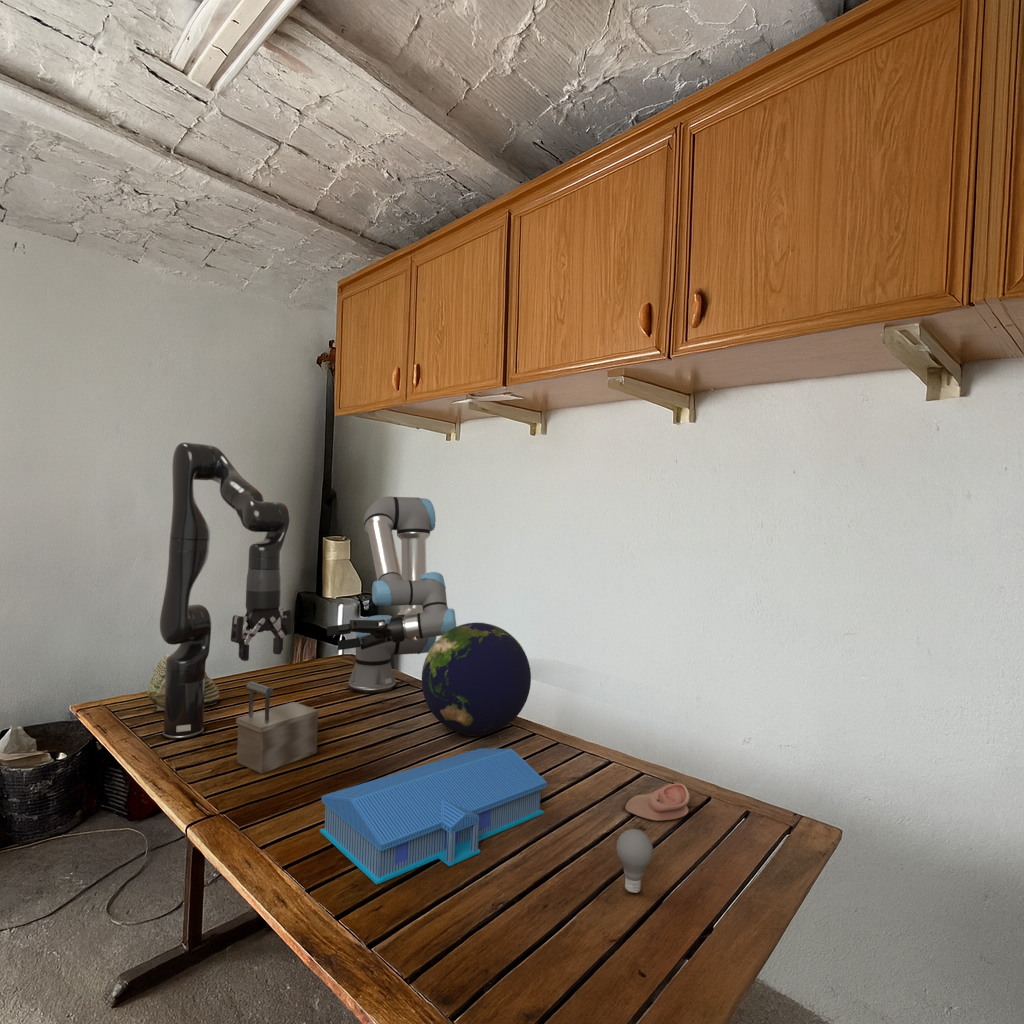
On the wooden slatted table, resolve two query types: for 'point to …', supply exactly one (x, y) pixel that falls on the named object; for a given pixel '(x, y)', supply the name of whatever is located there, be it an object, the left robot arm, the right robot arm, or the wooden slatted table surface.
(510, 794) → the model building
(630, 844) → the light bulb
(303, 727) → the chest
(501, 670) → the globe
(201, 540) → the left robot arm
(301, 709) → the grey piece
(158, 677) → the fossil
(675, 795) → the anatomical model
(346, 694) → the wooden slatted table surface
